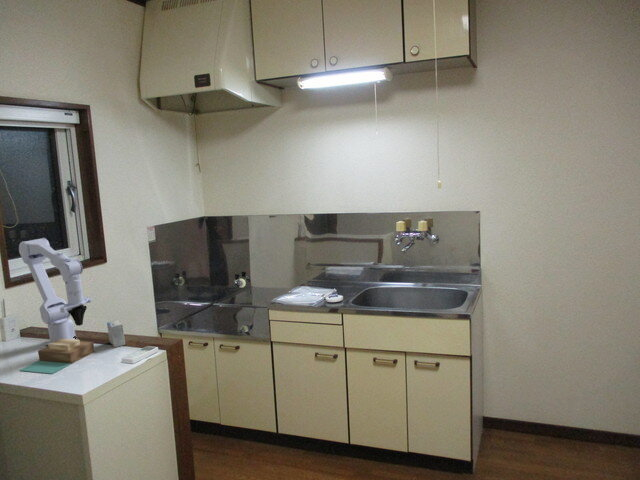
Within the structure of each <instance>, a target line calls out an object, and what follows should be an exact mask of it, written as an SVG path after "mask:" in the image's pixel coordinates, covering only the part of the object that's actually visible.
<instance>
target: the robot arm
mask: <svg viewBox="0 0 640 480" xmlns="http://www.w3.org/2000/svg"><path fill="white" fill-rule="evenodd" d="M18 252H19V254H20V257H21V260H22V261H23V264H26V265H27V266H28V268H29V271H30V273H31V275H32V278H33V280H34V282H35V284H36V287H37V289H38V291H39V294H40V297H41V298H42V300H43V303H42V304H41V305H40V306H39V309H38V310H39V312H40V318H41V320H42V322H43V323H44V324H45V325H47V329H48V335H49V342H47V343H45V346H49V344H50V343H52V342H54V341H56V340H58V339H61V338H63V339H75V338H73V337H74V336H76V329H75V325H76V326H82V325H83V322H84V317H85V313H86V311H87V308H88V307H87V306H86V305H87V304H89V303H92V302H93V299H92V297H89V296H87V297H84V293H83V285H82V276H81V274H83V268H84V267H83V265H82V262H81V261H80V260H79V259H71V258H70V257H68V256H67V255H66V254H64V253H63V252H62V251H59V252H57V251H56V250H54V249H53V248H52V246H51V245H50V242H49V240H48V239H47V238H46V237H41V238H38V239H37V238H36V239H32V240H31V239H30V240H27V241H25V240H24V241H21V242H20V243H19V245H18ZM46 259H49V261H50V264H51V265H52V266H53V267H55V268H56V269H58V270H59V273H60V275H61V277H62V281H63V282H64V283H65V291H66V299H67V302H66V300H65V299H64V298H61V297H58V296H57V293H56V292H55V289H54V287H53V285H52V282H51V280H50V278H49V276H48V274H47V271H46V269H45V267H44V264H43V261H45V260H46ZM70 316H71V318H72V319H73V320H72V319H71V318H70ZM74 323H75V324H74Z"/></svg>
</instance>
